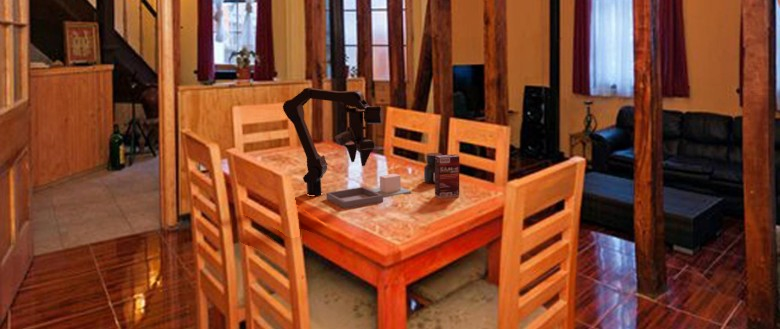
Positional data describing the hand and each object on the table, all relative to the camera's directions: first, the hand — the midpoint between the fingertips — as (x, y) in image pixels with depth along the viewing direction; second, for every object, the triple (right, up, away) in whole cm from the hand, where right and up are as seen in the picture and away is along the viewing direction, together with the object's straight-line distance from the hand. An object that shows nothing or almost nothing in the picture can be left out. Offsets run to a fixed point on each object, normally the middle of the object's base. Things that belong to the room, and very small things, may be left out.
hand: (358, 163), depth 214 cm
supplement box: (+35, -13, -1) cm, 37 cm away
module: (+13, -11, +7) cm, 18 cm away
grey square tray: (-1, -14, -5) cm, 15 cm away
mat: (+13, -11, +7) cm, 18 cm away
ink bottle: (+32, -8, +22) cm, 39 cm away
